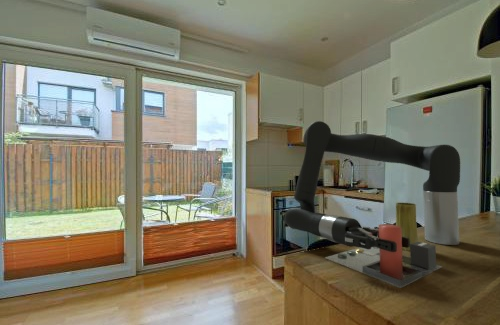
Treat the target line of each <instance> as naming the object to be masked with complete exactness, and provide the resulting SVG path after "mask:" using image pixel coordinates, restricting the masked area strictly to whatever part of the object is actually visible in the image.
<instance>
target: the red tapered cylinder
mask: <svg viewBox="0 0 500 325" xmlns="http://www.w3.org/2000/svg"><path fill="white" fill-rule="evenodd" d="M378 227H379V238H381V239H385V240H389V241H394V242H396V244H397V251H396V252H390V251H387V250H383V249H379V252H380V272H382V273H385V274H387V275H390V276H393V277H396V278H402V277H403V262H402V255H403V250H402V229H401V227H400V226H397V225H396V224H388V223H387V224H386V223H383V224H382V223H381V224H378ZM379 238H378V239H379Z"/></svg>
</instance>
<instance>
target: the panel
mask: <svg viewBox="0 0 500 325" xmlns="http://www.w3.org/2000/svg"><path fill="white" fill-rule="evenodd" d="M324 259H327V260H329V261H332V262H334V263H336V264H339V265H342V266H344V267H347V268H350V269H351V270H354V271H356V272H360V273H362V274H364V275H367V276H369V277H371V278H375V279H378V280H379V281H382V282H384V283H387V284H389V285H392V286H395V287H397V288H399V289H401V288H403V287H406V286H408V285H410V284H411V283H414V282H415V281H418V280H420V279H422V278H423V277H425V276H427V275H429V274H431V273H433V272H435V271H437V270H439V269H442V268H443V266H442V265H438V264H436V266H435V267H433V268H430V269H426V268H423V267H420V266H416V265H413V264H411V256H407V255H403V254H402V262H403V277H402V278H396V277H393V276H390V275H387V274H385V273H382V272H380V252H379V248H378V249H374V248H372V247H371V249H369V250H368V249H364V248H360V247H356V248H354V249H351V250H350V249H349V250H346V251H343V252H339V253H335V254H333V255H329V256H325V257H324Z"/></svg>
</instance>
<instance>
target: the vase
mask: <svg viewBox="0 0 500 325" xmlns="http://www.w3.org/2000/svg"><path fill="white" fill-rule="evenodd" d="M416 206H417V204H416V203H414V202H413V203H412V202H396V203H395V225H397V226H400V227H401V229H402V237H406V238H409V239H410V244H412V243H415V242H419V240H418V229H417V228H418V226H417V207H416ZM402 251H408V252H410V247H408V248H405V247H402Z"/></svg>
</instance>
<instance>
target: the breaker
mask: <svg viewBox="0 0 500 325" xmlns="http://www.w3.org/2000/svg"><path fill="white" fill-rule="evenodd" d="M436 249H437V246H436V244H435V245H434V244H429V243H427V242H421V241H418V242H415V243H412V244H410V251H409V253H410V256H409V257H411V264H413V265H416V266H420V267H423V268H426V269H430V268H433V267H435V266H436V265H437V253H436V252H437V250H436Z"/></svg>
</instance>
